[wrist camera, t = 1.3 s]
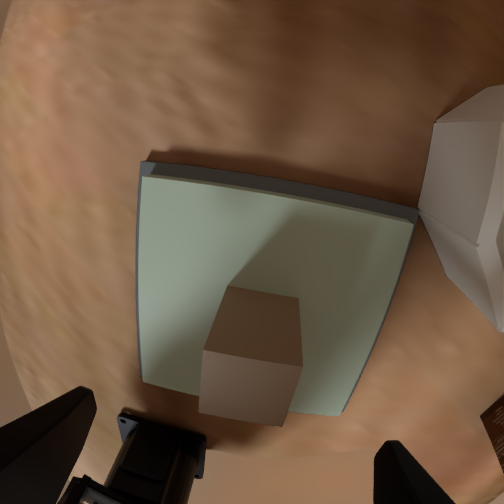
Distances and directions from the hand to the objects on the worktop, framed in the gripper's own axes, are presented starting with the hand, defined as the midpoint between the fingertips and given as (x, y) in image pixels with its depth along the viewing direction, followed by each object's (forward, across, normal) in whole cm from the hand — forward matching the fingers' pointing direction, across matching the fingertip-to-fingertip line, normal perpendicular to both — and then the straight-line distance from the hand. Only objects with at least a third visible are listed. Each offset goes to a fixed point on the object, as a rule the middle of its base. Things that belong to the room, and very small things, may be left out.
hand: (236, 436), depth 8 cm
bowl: (+7, -11, -8) cm, 16 cm away
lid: (+7, 0, 0) cm, 7 cm away
